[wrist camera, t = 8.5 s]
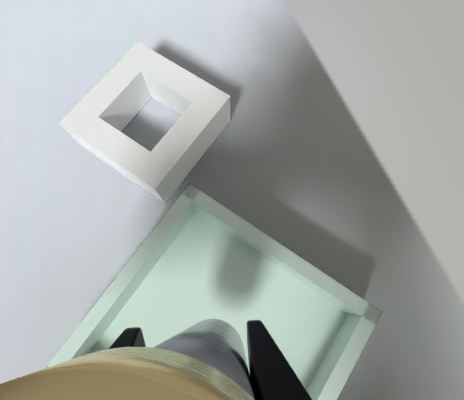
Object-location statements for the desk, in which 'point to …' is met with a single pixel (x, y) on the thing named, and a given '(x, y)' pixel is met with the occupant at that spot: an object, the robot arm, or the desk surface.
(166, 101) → the socket block
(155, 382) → the pin
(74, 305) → the desk surface
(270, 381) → the robot arm
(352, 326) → the tray
